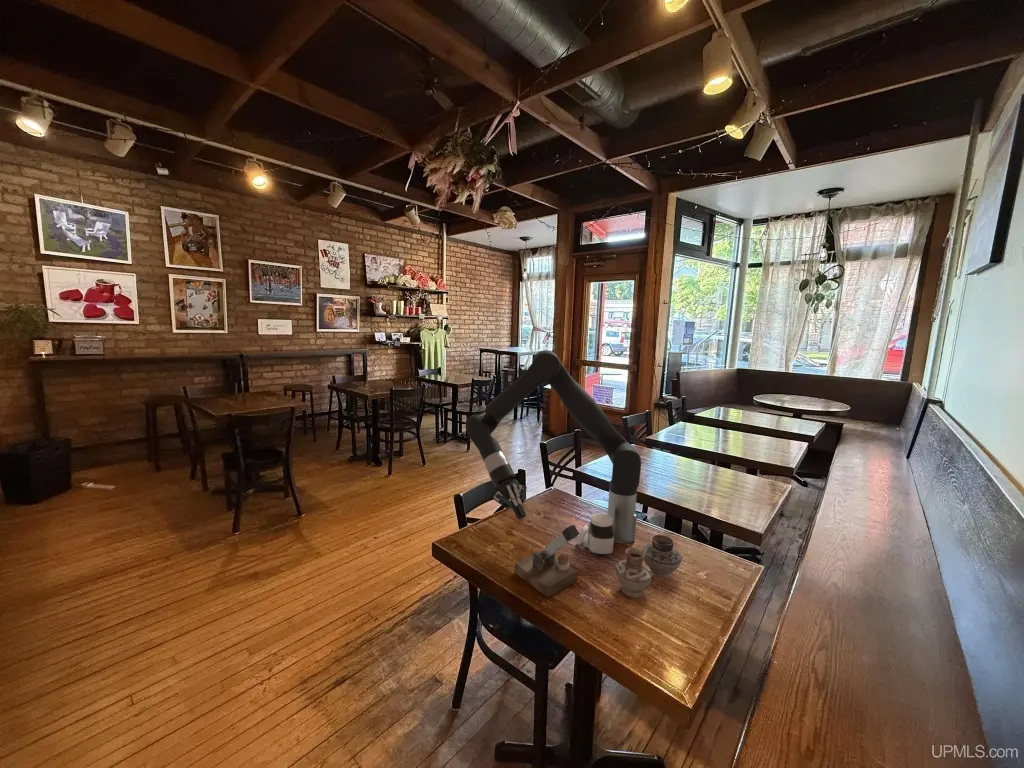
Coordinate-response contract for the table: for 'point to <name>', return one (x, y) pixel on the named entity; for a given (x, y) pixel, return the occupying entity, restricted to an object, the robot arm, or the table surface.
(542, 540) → the table surface
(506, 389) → the robot arm
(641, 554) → the pottery
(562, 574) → the press base
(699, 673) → the table surface
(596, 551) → the spread jar
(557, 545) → the lever
